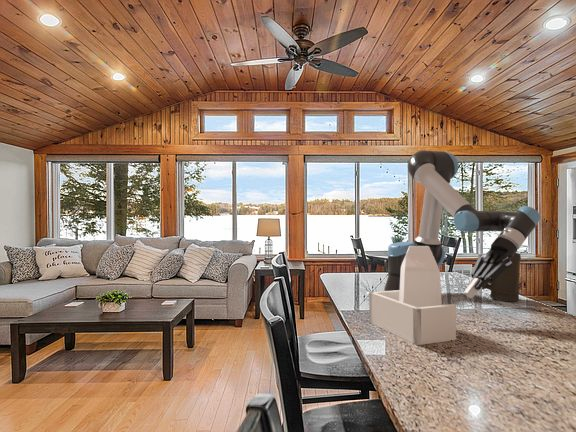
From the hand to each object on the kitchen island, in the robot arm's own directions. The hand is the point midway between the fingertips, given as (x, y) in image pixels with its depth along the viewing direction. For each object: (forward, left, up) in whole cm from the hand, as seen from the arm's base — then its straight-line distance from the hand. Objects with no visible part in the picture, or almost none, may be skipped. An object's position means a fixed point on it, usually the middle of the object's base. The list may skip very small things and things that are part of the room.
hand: (467, 295), depth 131 cm
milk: (-1, -18, -9) cm, 21 cm away
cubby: (0, -24, -9) cm, 25 cm away
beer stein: (-24, +40, -9) cm, 47 cm away
